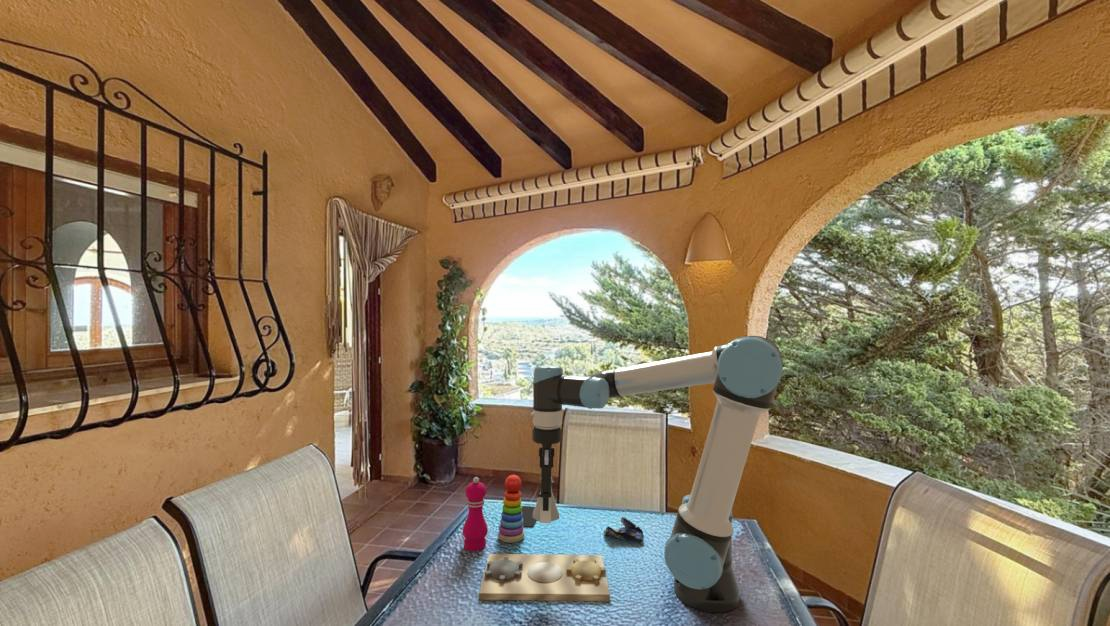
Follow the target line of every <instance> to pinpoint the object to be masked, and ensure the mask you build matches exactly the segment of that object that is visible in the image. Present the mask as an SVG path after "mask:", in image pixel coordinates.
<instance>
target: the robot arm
mask: <svg viewBox="0 0 1110 626" xmlns="http://www.w3.org/2000/svg"><path fill="white" fill-rule="evenodd" d="M783 364H784V361H783V356H782V353H781V351H780V349H779V347H778V346H777V345H776V344H775V343H774V342H773V341H771V340H770V339H768V338H766V337H762V336H760V335H748V336H747V335H746V336H740V337H738V338H735V339H733V340H731V341H730V342H728V343H726V344H722V345H716V346H714V348H713V349H712V350H711V351H707V352H706V351H705V352H700V353H695V354H689V355H684V356H679V357H674V358H668V359H663V360H656V361H652V362H646V363H639V364H634V365H629V366H624V367H618V368H612V369H605V370H600V371H597V372H595V373H589V374H586V375H568V374H564V372H563V371H564V370H563V368H562V366H559V365H554V364H553V365H552V364H551V365H549V364H545V365H543V364H542V365H537V366H536V367H535V368H534V370H533V381H532V387H533V388H532V390H533V392H532V393H533V395H532V396H533V401H532V402H533V403H532V411H533V412H530V417H532V425H533V427H532V433H531V434H532V437H531V440H532V441H533V443H535V444H540V445H541V446H539V448H538V457H539V468H540V470H541V472H540V473H541V474H540V475H541V476H540V478H541V480H540V491H541V494H540V493H539V494H540V495H539V494H537V498H538V497H540V522H539V524H551V523H552V521H551V487H552V484H554V483H555V482H554V480H555V479H552V481H551V477H552V469H553V468H554V457H555V447H553V445H556V444H560V442H561V441H562V429H563V428H562V424H563V406H573V407H578V408H579V407H581V408H587V409H590V410H591V409H599V410H600V409H603V408H604V407H606V405H607V403H608V402H609V399H610V400H611V399H614V398H621V397H627V396H628V397H629V396H633V395H641V394H647V393H655V392H660V391H661V392H662V391H667V390H674V389H681V388H687V387H694V386H695V387H696V386H702V385H708V384H709V385H710V384H714V385H713V388H712V393H713V395H714V397H716V400H717V401H716V405H715V409H714V412H713V416H712V419H711V423H710V425H709V430H708V433H707V437H706V439H705V443H704V446H703V449H702V453H701V457H700V461H699V464H698V467H697V472H696V474H695V479H694V481H693V485H692V487H691V492H690V494H687V495H684V496H683V497H682V501H681V505H679V508H678V511H677V514H676V518H675V519H674V520H675V521H674V524H673V528H672V530H671V531H672V532H671V534H670V537H669V538H668V540H666V542H665V545H664V551H663V552H664V561H665V564H666V567H667V569H668V571H670V574H671V575H672V576H673V578H674V579H673V590H674V594H675V595H676V597H678V599H679V600H680V601H682V602H683V603H684V604H686V605H688V606H690V607H692V608H694V609H696V610H700V611H702V612H708V613H717V614H718V613H727V612H730V611H733V610H734V609H736V608H737V607H738V605H739V603H740V588H739V585H738V583H737V579H736V576H735V575H736V574H735V572H734V569H733V563H732V562H733V561H732V559H733V558H732V557H733V556H732V555H733V554H732V553H733V552H732V551H733V549H732V548H733V545H732V543H733V540H732V539H733V534H734V527H733V517H734V515H733V506H734V502H735V499H736V495H737V492H738V489H739V485H740V482H741V479H742V476H743V472H744V468H745V466H746V463H747V460H748V455H749V453H750V448H751V445H752V443H753V439H754V435H755V431H756V428H757V426H758V422H759V418H760V415H761V414H763V413H765V412H768V411H770V410H771V407H772V403H773V400H774V397H775V395H776V392H777V388H778V385H779V383H780V381H781V379H782V375H783V370H784V369H783V367H784V365H783ZM554 485H555V484H554Z"/></svg>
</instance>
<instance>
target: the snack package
mask: <svg viewBox="0 0 1110 626" xmlns="http://www.w3.org/2000/svg"><path fill="white" fill-rule="evenodd" d="M620 522H621V524H622V525H623V526H621V527H619V528H616V529H613V528H612V527H610V526H606V528H605V529H604V531H603V532H602V533H603V536H606V535H607V536H608V535H609V536H611V537H614V538H618V539H622V540H624V541H625V540H627V541H628V540H636V541H638V542H640V543H642V541H643V539H644V537H643V535H644V531H643V530H642V528H641V527H639V526H637V525H636V524H635V523H634V522H633V521H631V520H629V519H627V518H626V517H624V516H622V517H621V518H620Z"/></svg>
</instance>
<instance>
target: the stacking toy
mask: <svg viewBox="0 0 1110 626" xmlns="http://www.w3.org/2000/svg"><path fill="white" fill-rule="evenodd" d="M504 487H505V489H506V491H505V492H504V498H503V500H502V503H503V505H502V512H501V518H500V520H499V521H500V523H499V525H498V533H497V536H498V537H497V538H498V539H499V540H500V541H501V542H503V543H508V544H509V543H510V544H513V543H514V544H515V543H518V542H520V541H522V540H523V539H524V537H525V531H524V529H525V527H523V518H522V516H523V513H522V506H523V505H522V499H521V496H522V493H521V490H520V489H521V487H522V480H521V478H520V477H519V476H518V474H517V475H516V474H511V475H510V474H509V476H507V477H506V479H505V481H504Z"/></svg>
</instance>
